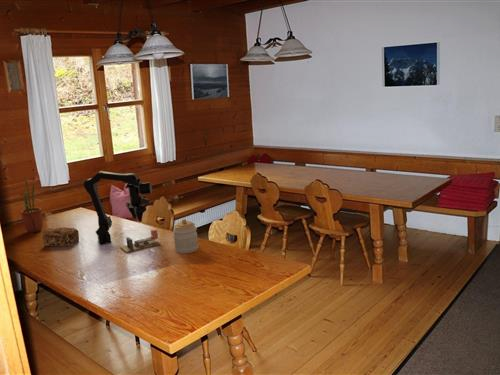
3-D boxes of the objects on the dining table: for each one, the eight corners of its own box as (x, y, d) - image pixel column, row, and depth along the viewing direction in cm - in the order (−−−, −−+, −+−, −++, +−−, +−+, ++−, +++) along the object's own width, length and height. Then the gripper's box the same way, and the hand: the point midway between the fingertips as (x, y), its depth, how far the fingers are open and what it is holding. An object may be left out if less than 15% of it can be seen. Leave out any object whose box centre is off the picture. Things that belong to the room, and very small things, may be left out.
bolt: (135, 244, 274) (134, 235, 273) (134, 243, 276) (133, 234, 275) (158, 239, 281) (157, 230, 280) (156, 238, 283) (155, 229, 282)
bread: (43, 247, 289) (40, 231, 287) (51, 241, 300) (48, 226, 298) (73, 245, 288) (70, 229, 286) (80, 240, 298) (78, 224, 296)
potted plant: (24, 230, 328) (15, 180, 320) (48, 226, 334) (40, 177, 327) (24, 237, 312) (14, 184, 305) (49, 232, 319) (41, 181, 311)
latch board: (126, 253, 267) (125, 242, 266) (120, 248, 277) (119, 237, 275) (160, 245, 278) (159, 234, 276) (153, 240, 287) (152, 230, 285)
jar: (194, 254, 259) (191, 222, 255) (171, 253, 262) (168, 222, 258) (201, 245, 271) (198, 215, 268) (179, 245, 274) (176, 216, 270)
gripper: (153, 194, 280) (156, 220, 283) (142, 190, 295) (144, 214, 298) (134, 198, 274) (138, 224, 277) (124, 193, 289) (127, 218, 293)
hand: (137, 220), depth 286 cm, fingers open, 9 cm apart
